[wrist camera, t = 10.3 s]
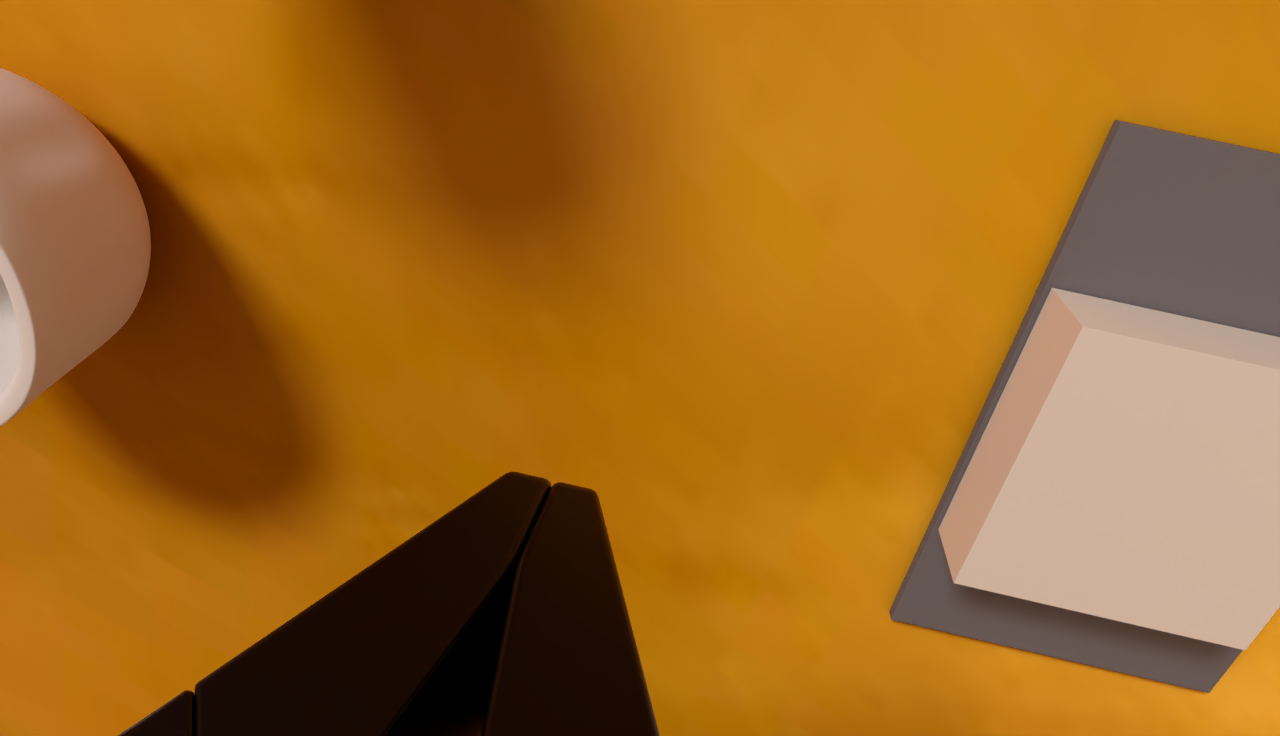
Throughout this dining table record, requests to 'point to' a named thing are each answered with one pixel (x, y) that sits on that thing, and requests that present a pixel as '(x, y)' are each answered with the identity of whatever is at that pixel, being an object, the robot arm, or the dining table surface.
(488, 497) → the robot arm
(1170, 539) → the block
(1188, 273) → the mat
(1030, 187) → the dining table surface
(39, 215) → the teacup
